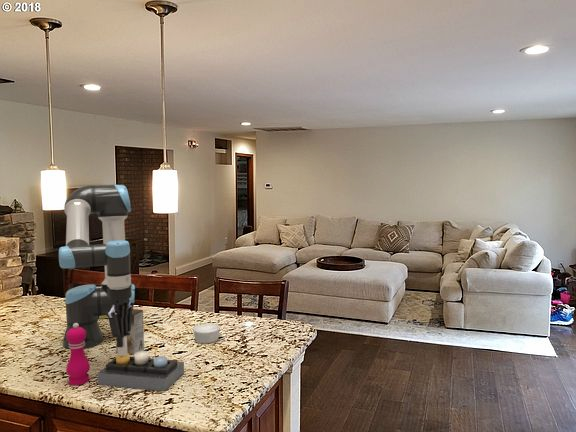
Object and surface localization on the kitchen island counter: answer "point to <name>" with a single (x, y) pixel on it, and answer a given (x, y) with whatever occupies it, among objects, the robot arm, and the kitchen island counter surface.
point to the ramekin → (206, 333)
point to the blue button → (160, 362)
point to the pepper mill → (77, 356)
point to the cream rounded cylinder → (141, 358)
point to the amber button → (123, 359)
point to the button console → (141, 375)
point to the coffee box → (135, 333)
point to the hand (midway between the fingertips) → (122, 355)
